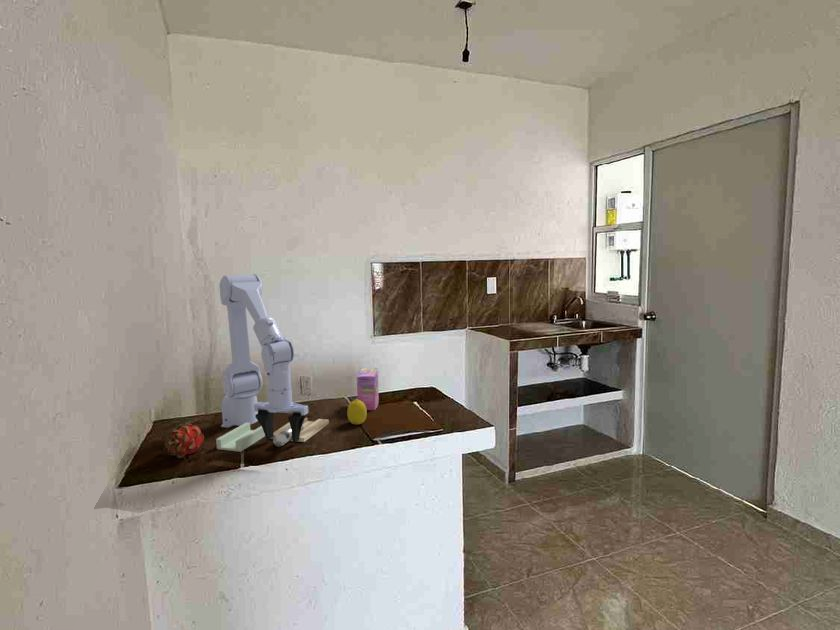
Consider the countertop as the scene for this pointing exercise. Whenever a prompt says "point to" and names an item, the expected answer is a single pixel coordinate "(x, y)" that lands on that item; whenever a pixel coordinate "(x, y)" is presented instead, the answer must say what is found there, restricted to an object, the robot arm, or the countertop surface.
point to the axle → (284, 436)
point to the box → (368, 387)
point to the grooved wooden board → (306, 429)
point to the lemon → (356, 412)
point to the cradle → (239, 438)
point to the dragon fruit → (183, 440)
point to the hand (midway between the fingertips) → (282, 439)
